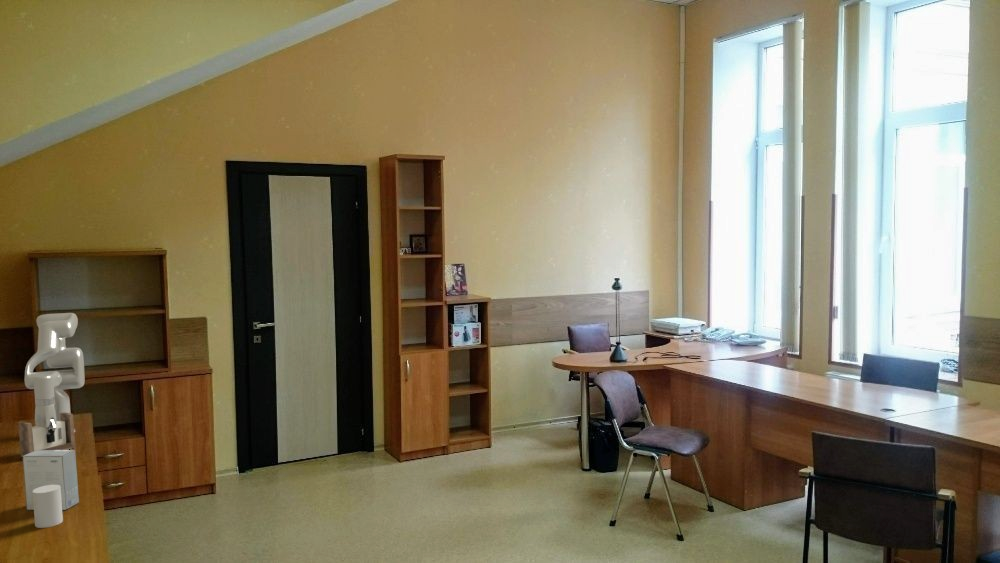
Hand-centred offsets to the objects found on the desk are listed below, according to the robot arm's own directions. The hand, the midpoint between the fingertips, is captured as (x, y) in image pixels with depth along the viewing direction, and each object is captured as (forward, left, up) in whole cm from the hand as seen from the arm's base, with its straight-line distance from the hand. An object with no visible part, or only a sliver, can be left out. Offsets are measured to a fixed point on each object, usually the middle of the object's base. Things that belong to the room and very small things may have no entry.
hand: (47, 441), depth 337 cm
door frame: (0, 0, -5) cm, 5 cm away
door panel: (0, 0, -4) cm, 4 cm away
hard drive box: (+72, -35, -6) cm, 80 cm away
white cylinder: (+87, -44, -6) cm, 98 cm away
